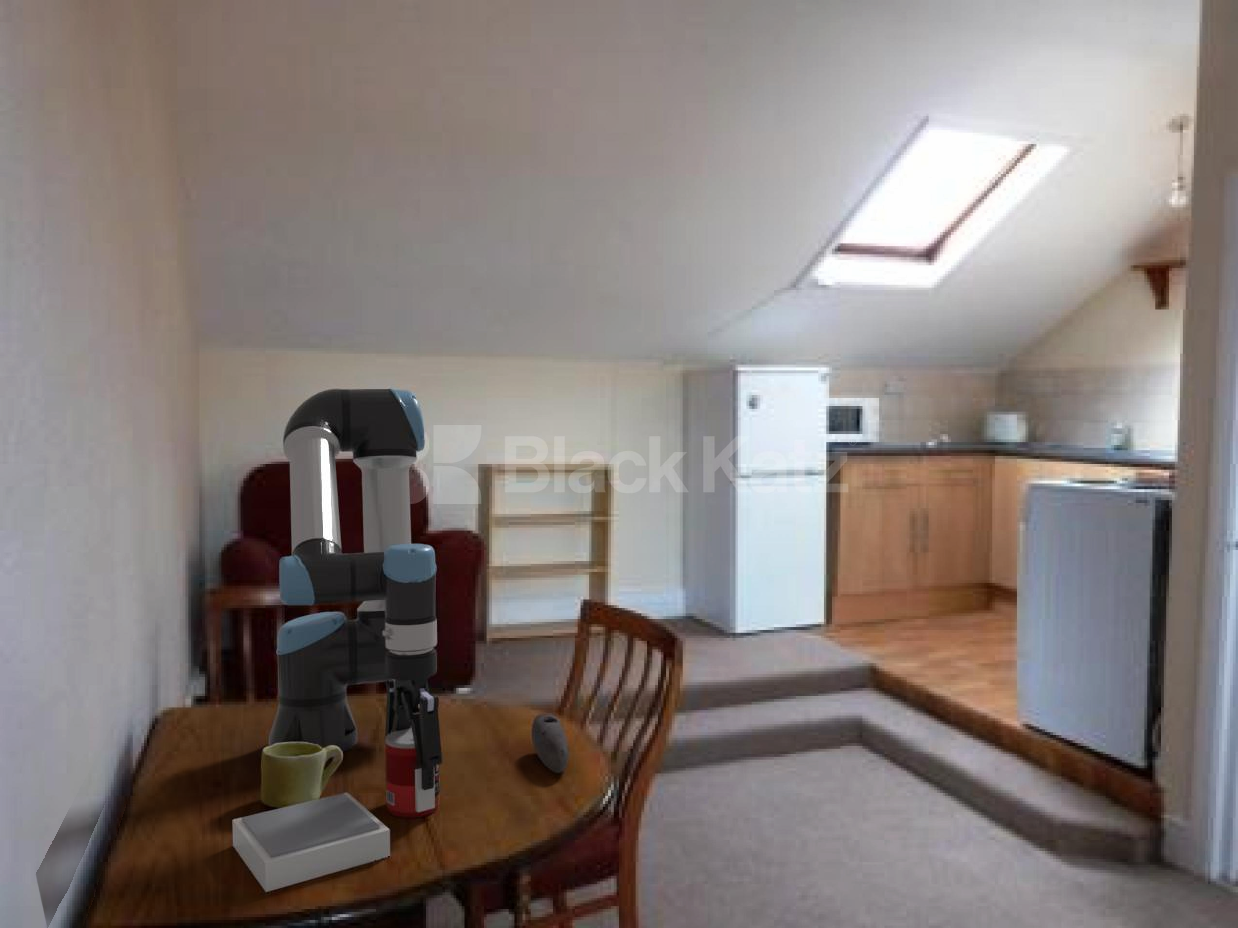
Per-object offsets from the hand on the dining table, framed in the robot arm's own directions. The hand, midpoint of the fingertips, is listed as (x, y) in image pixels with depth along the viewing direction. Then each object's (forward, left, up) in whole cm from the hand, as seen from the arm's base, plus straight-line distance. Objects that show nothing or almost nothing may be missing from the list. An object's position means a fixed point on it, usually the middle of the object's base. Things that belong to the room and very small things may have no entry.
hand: (413, 799), depth 139 cm
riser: (+5, -17, -1) cm, 18 cm away
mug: (-14, -12, -2) cm, 18 cm away
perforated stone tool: (-3, +26, -2) cm, 27 cm away
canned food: (0, 0, -1) cm, 1 cm away
